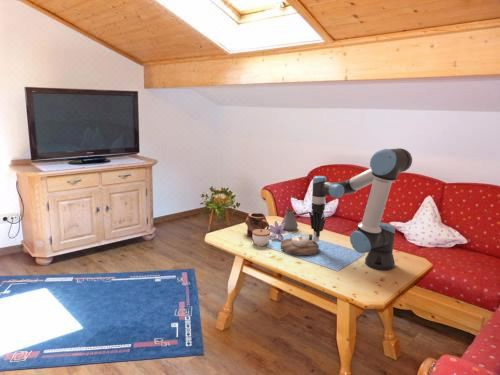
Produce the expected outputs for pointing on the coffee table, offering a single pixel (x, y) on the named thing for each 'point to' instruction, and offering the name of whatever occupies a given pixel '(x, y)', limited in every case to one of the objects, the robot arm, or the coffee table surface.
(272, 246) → the coffee table surface
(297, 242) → the lid
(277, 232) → the water lily
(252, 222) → the decorative planter
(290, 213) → the coffee pot
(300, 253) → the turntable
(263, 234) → the lidded jar
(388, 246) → the robot arm
